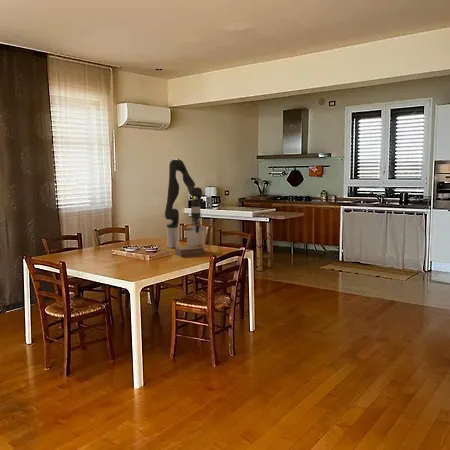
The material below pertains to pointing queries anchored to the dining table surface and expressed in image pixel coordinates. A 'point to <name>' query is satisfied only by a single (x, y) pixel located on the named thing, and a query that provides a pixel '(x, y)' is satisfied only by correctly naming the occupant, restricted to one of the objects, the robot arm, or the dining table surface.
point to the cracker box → (196, 236)
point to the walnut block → (189, 251)
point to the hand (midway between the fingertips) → (195, 231)
